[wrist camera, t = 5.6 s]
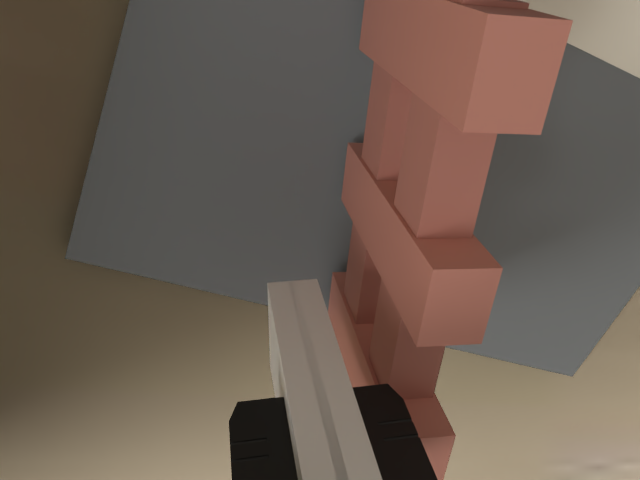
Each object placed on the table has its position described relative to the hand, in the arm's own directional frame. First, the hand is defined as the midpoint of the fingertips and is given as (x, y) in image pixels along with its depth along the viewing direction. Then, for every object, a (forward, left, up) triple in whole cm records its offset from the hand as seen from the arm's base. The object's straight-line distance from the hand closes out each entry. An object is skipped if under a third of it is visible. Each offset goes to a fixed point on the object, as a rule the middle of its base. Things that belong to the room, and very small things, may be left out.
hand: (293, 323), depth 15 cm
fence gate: (+1, +5, -3) cm, 6 cm away
